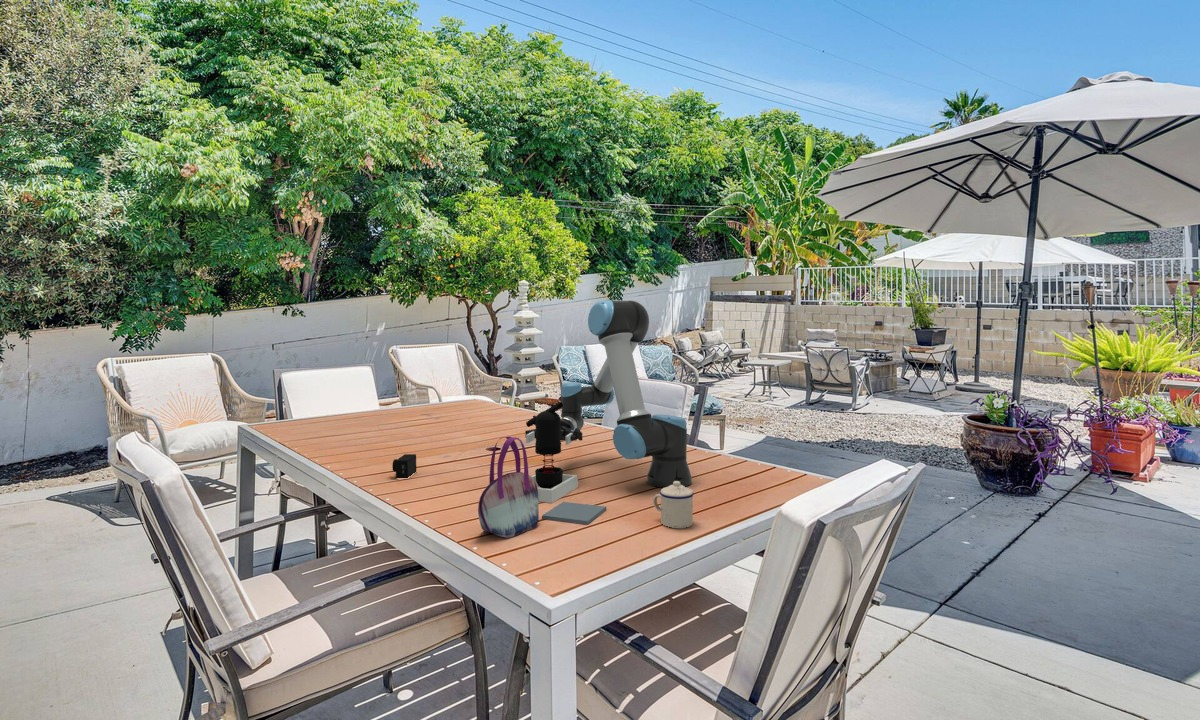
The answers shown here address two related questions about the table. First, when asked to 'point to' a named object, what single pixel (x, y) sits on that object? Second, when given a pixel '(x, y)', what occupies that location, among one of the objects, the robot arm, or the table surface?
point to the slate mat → (574, 513)
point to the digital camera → (405, 465)
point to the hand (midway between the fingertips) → (546, 439)
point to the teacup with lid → (675, 506)
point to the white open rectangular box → (557, 489)
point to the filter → (548, 445)
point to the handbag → (509, 497)
